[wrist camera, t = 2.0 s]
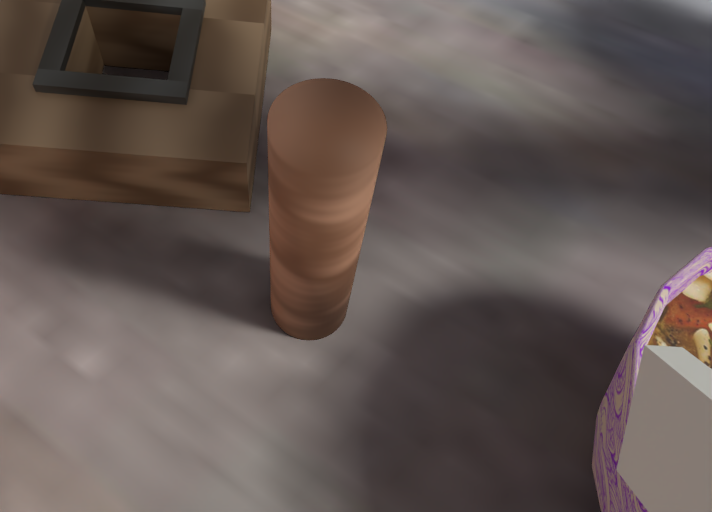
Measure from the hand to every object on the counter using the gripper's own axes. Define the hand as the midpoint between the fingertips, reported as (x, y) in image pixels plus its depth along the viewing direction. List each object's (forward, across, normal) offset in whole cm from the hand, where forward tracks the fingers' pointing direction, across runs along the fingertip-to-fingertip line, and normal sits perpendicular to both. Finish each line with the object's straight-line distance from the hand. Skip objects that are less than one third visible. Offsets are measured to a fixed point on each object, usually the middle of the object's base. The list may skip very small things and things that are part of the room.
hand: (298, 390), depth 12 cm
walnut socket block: (+35, -11, +3) cm, 37 cm away
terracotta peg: (+25, +1, -7) cm, 26 cm away
